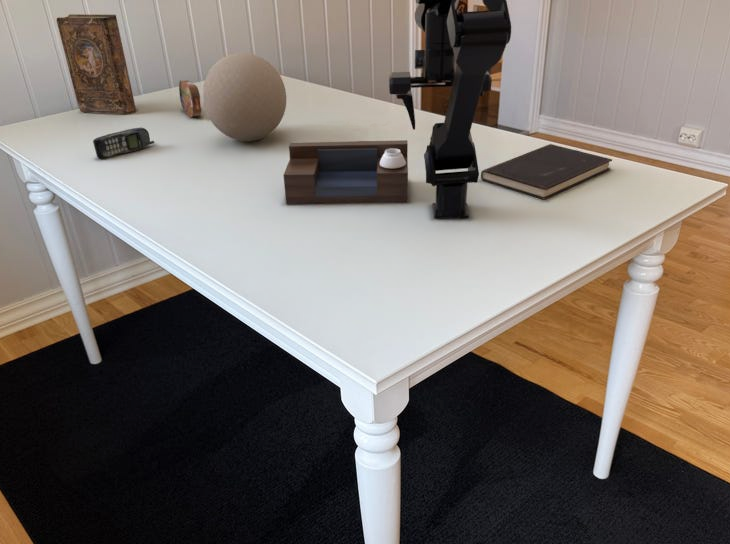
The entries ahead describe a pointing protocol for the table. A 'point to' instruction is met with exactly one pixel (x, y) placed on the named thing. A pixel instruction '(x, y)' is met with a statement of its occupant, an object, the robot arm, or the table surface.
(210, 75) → the decorative sphere
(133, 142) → the mobile phone
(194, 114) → the tin
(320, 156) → the toy sofa
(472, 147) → the robot arm
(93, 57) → the book
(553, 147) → the hardcover book
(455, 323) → the table surface
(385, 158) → the lidless jar
